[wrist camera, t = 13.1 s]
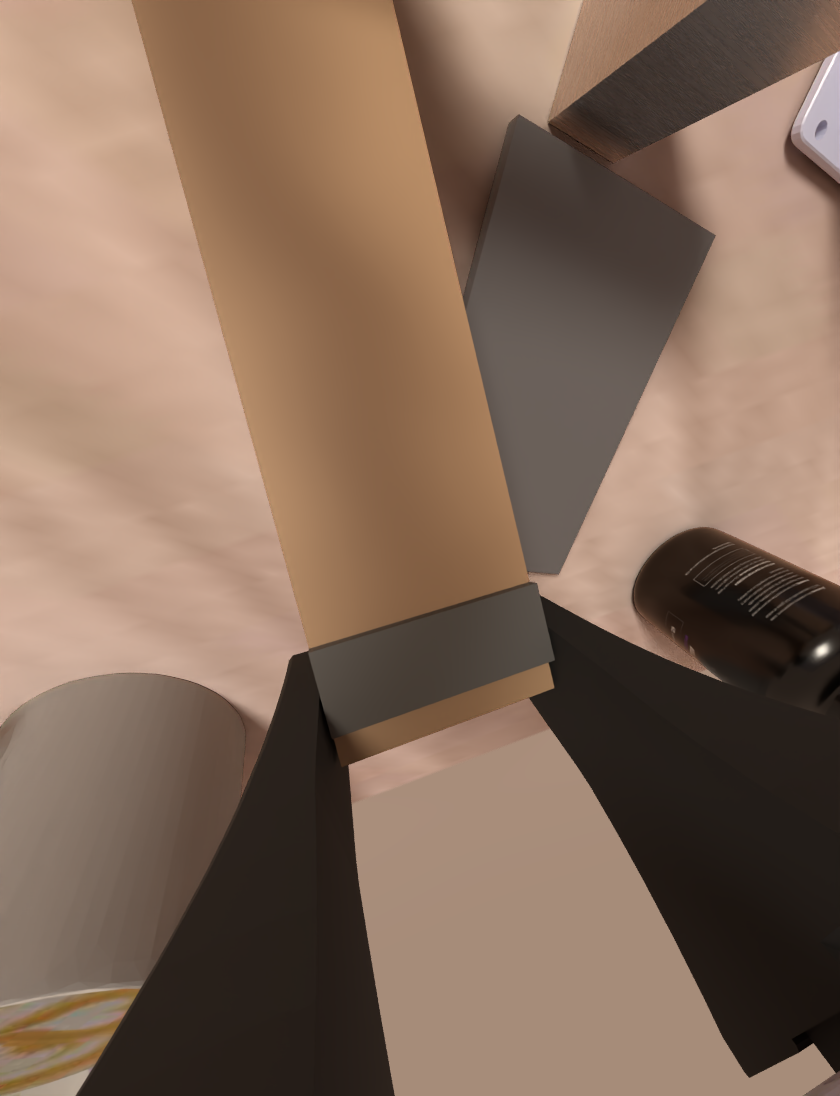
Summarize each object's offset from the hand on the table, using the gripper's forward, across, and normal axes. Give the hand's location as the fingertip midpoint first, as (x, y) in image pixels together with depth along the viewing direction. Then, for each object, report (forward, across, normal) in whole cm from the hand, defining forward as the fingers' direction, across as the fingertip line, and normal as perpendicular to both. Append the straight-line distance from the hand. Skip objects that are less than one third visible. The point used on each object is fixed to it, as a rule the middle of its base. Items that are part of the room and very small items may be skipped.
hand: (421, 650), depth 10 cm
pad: (+8, -8, -3) cm, 12 cm away
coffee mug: (+9, +14, +8) cm, 18 cm away
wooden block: (+5, 0, -4) cm, 6 cm away
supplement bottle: (+9, -18, +9) cm, 22 cm away
